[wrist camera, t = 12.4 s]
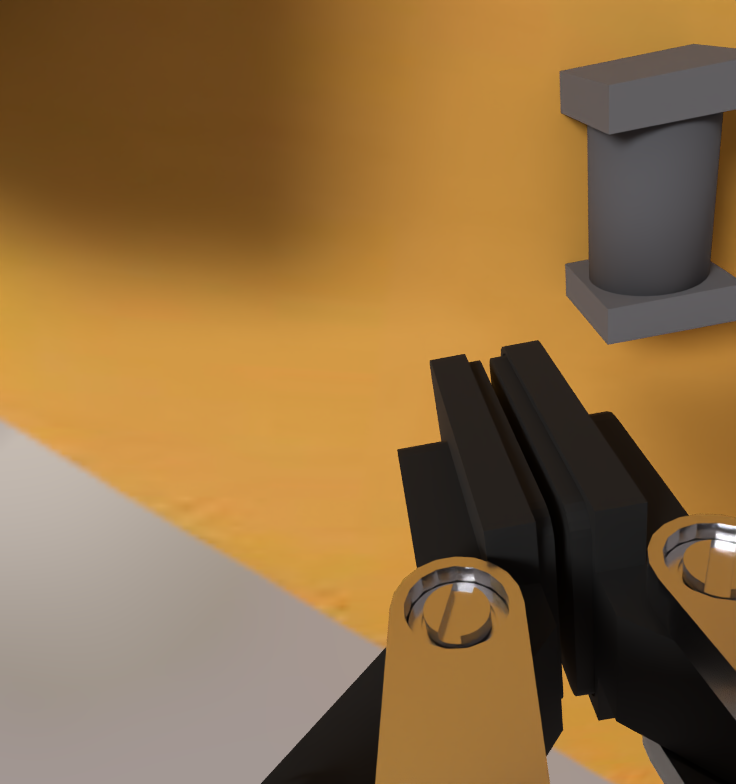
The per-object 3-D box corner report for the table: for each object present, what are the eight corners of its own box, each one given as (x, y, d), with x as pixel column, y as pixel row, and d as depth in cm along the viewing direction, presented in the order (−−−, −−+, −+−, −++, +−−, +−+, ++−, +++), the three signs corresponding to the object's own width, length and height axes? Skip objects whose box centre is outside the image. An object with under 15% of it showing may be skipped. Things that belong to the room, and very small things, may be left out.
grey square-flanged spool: (559, 70, 17) (608, 85, 14) (693, 43, 17) (771, 52, 14) (566, 294, 20) (607, 344, 17) (678, 273, 20) (740, 319, 17)
